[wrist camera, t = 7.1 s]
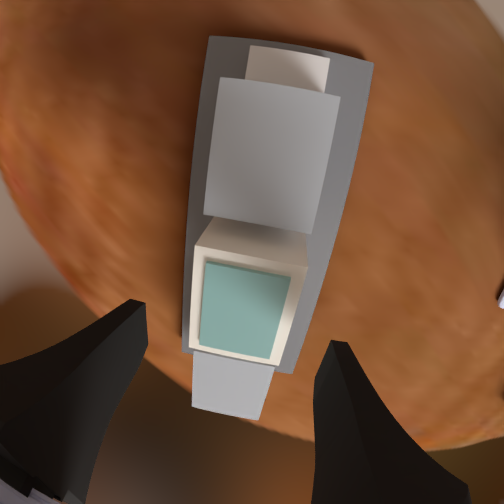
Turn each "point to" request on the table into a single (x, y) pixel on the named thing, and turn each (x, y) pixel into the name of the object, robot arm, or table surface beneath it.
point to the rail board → (334, 179)
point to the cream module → (246, 289)
